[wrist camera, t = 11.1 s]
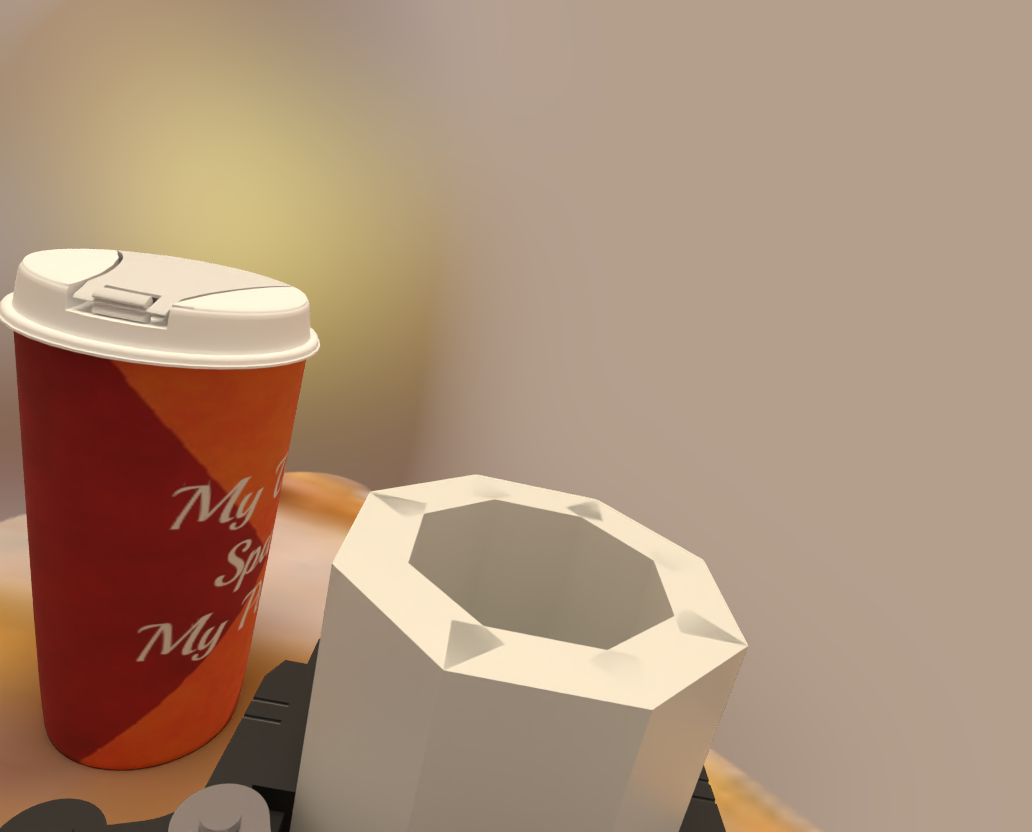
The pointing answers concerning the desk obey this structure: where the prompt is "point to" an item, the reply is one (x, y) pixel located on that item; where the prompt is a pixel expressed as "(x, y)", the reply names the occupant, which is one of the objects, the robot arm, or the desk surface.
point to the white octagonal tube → (511, 668)
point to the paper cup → (149, 487)
